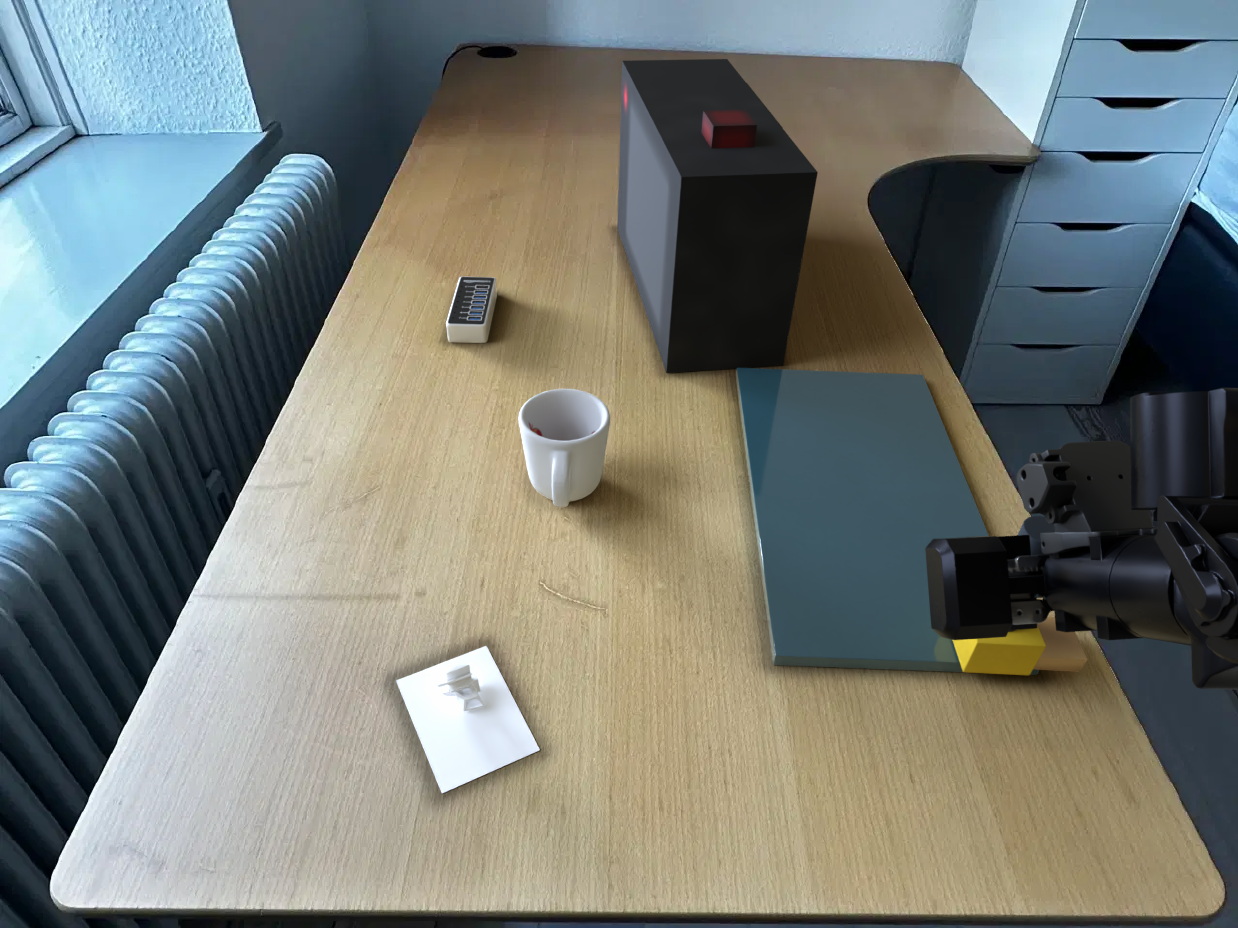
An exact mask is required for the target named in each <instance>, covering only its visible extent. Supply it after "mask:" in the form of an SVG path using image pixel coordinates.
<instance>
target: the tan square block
mask: <svg viewBox="0 0 1238 928" xmlns="http://www.w3.org/2000/svg"><path fill="white" fill-rule="evenodd" d="M1037 626H1038V628H1039V630H1040V633H1041V635H1042V637H1043V640H1044V642H1045V645H1046V647H1045V649H1044V651H1043V653H1042V654H1041V656H1040V658H1039V660H1038V661H1037V663H1036V665H1035V667H1034V668H1033V669H1036V670H1039V671H1057V672H1058V671H1059V672H1078V673H1079V672H1081V671H1082V669H1083V668H1084V667H1085V664H1086V663H1087V661H1088V657H1087V655H1086V653H1085V651H1084V649H1083V646H1082V644H1081V642H1080V640H1079V637H1078V635H1077V634H1076V632H1061V631H1056V625H1055V616H1049V615H1048V617H1047V619H1046V620H1045V621H1044V622H1042V623H1037Z"/></svg>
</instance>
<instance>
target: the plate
mask: <svg viewBox="0 0 1238 928" xmlns="http://www.w3.org/2000/svg"><path fill="white" fill-rule="evenodd" d="M735 383H736V390H737V397H738V405H739V413H740V420H741V430H742V436H743V443H744V452H745V460H746V467H747V474H748V481H749V489H750V498H751V504H752V513H753V521H754V529H755V536H756V543H757V551H758V552H757V553H758V559H759V566H760V574H761V582H762V589H763V590H762V591H763V599H764V605H765V612H766V620H767V629H768V637H769V644H770V651H771V659H772V665H773V666H787V667H789V666H791V667H813V668H815V667H816V668H817V667H818V668H841V669H843V668H844V669H866V670H868V669H869V670H895V671H923V672H948V673H950V672H951V673H964V672H963V670H962V667H961V664H960V661H959V658H958V655H957V652H956V649H955V646H954V643H953V640H951V639H947V638H943V637H940V636H939V635H938V634H937V633H936V632H935V631H934V630H932V629H931V617H930V604H929V591H928V578H927V565H926V551H925V548H926V547H927V545H928V544H929V543H930V542H931V541H932V539H939V538H957V537H978V536H990V535H989V533H988V531H987V528H986V525H985V523H984V520H983V518H982V516H981V512H980V511H979V508H978V505H977V503H976V500H975V499H974V496H973V493H972V491H971V489H970V487H969V483H968V482H967V481H968V480H967V479H966V477H965V474H964V472H963V469H962V467H961V464H960V462H959V460H958V456H957V453H956V451H955V450H954V447H953V445H952V442H951V440H950V437H949V434H948V433H947V432H948V431H947V430H946V427H945V425H944V423H943V420H942V418H941V415H940V412H939V411H938V408H937V405H936V403H935V401H934V397H933V396H932V393H931V390H930V389H929V386H928V384H927V381H926V379H925V377H924V374H920V373H919V374H918V373H916V374H915V373H890V372H867V371H866V372H865V371H863V372H862V371H839V370H837V371H836V370H811V369H785V368H784V369H781V368H780V369H779V368H761V367H752V368H736V369H735ZM1039 672H1040V670H1036V669H1033V670H1032V672H1031V674H1030V675H1029V676H1037V675H1038V674H1039Z"/></svg>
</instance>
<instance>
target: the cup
mask: <svg viewBox="0 0 1238 928" xmlns="http://www.w3.org/2000/svg"><path fill="white" fill-rule="evenodd" d="M518 426H519V427H518V428H519V432H520V438H521V443H522V449H523V453H524V460H525V464H526V470H527V474H528V478H529V481H530V484H531V485H532V487H533V488H534V490H535V491H536V492H537V493H538V494H540V495H541V496H543V497H544V498H545V499H548V500H550V501H551V500H552V504H553V506H554V507H555V508H566V507H568V506H569V503H570V502H575V501H579V500H582V499H584V498H586V497H588V496H589V495H591V494H592V493H593V492H594V491H595V490H596V488H597V487H598V486H599V484H600V482H601V479H602V475H603V470H604V466H605V465H604V464H605V459H606V452H607V446H608V439H609V432H610V427H611V413H610V410H609V408H608V407H607V405H606V403H604V402H603V400H602V399H600V398H599V397H597V396H596V395H594V394H592V393H590V392H587V391H584V390H580V389H574V388H555V389H549V390H546V391H542V392H540V393H538V394H535V395H534V396H532V397H531V398H529V399H528V400H527V401H526V402H524V404H523V405H522V407H521V408H520V410H519V413H518Z"/></svg>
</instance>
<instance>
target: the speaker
mask: <svg viewBox="0 0 1238 928" xmlns="http://www.w3.org/2000/svg"><path fill="white" fill-rule="evenodd" d="M620 90H621V91H620V98H621V99H620V120H619V121H620V127H619V155H618V156H619V159H618V162H619V163H618V188H617V189H618V191H617V192H618V193H617V197H618V198H617V221H616V222H617V225H616V228H617V232H618V235H619V237H620V238H619V239H620V240H621V243H622V246H623V248H624V253H625V256H626V258H627V262H628V264H629V267H630V271H631V273H632V276H633V279H634V283H635V285H636V287H637V291H638V294H639V297H640V299H641V303H642V306H643V308H644V311H645V314H646V317H647V320H648V323H649V327H650V329H651V333H652V336H653V338H654V341H655V343H656V346H657V350H658V353H659V355H660V358H661V362H662V365H663V367H664V370H665V373H666V374H673V373H687V372H688V373H691V372H706V371H719V370H720V371H721V370H733V369H735V370H737V368H764V367H766V368H767V367H780V366H781V367H783V366H784V363H785V358H786V352H787V347H788V341H789V337H790V330H791V325H792V324H791V323H792V318H793V313H794V307H795V302H796V296H797V291H798V286H799V285H798V284H799V279H800V273H801V268H802V264H803V263H802V262H803V256H804V252H805V246H806V240H807V234H808V229H809V224H810V219H811V213H812V208H813V207H812V205H813V203H814V202H813V201H814V195H815V190H816V184H817V178H818V173H819V172H818V170H817V169H816V168H815V167H814V166H813V164H812V163H811V162H810V160H808V157H806V155H805V154H804V153H803V152H802V150H801V149H800V148H799V147H798V145H797V144H796V143H795V141H794V140H793V139H792V138H791V137H790V136H789V134H788V133H787V132H786V130H785V129H784V128H783V126H782V125H781V123H780V122H779V121H778V120H777V118H776V117H775V116H774V114H772V112H771V111H770V110H769V109H768V107H767V105H765V104H764V102H763V101H762V100H761V99H760V97H759V96H758V95H757V93H756V92H755V91H754V89H752V87H751V86H750V84H749V83H747V82H746V80H745V79H744V78H743V77H742V76H741V74H740V73H739V72H738V71H737V69H736V68H735V67H734V66H733V64H732V63H731V62H730V61H729V59H728V58H703V59H702V58H701V59H698V58H697V59H644V60H643V59H642V60H641V59H639V60H637V59H636V60H622V62H621V89H620Z"/></svg>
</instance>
